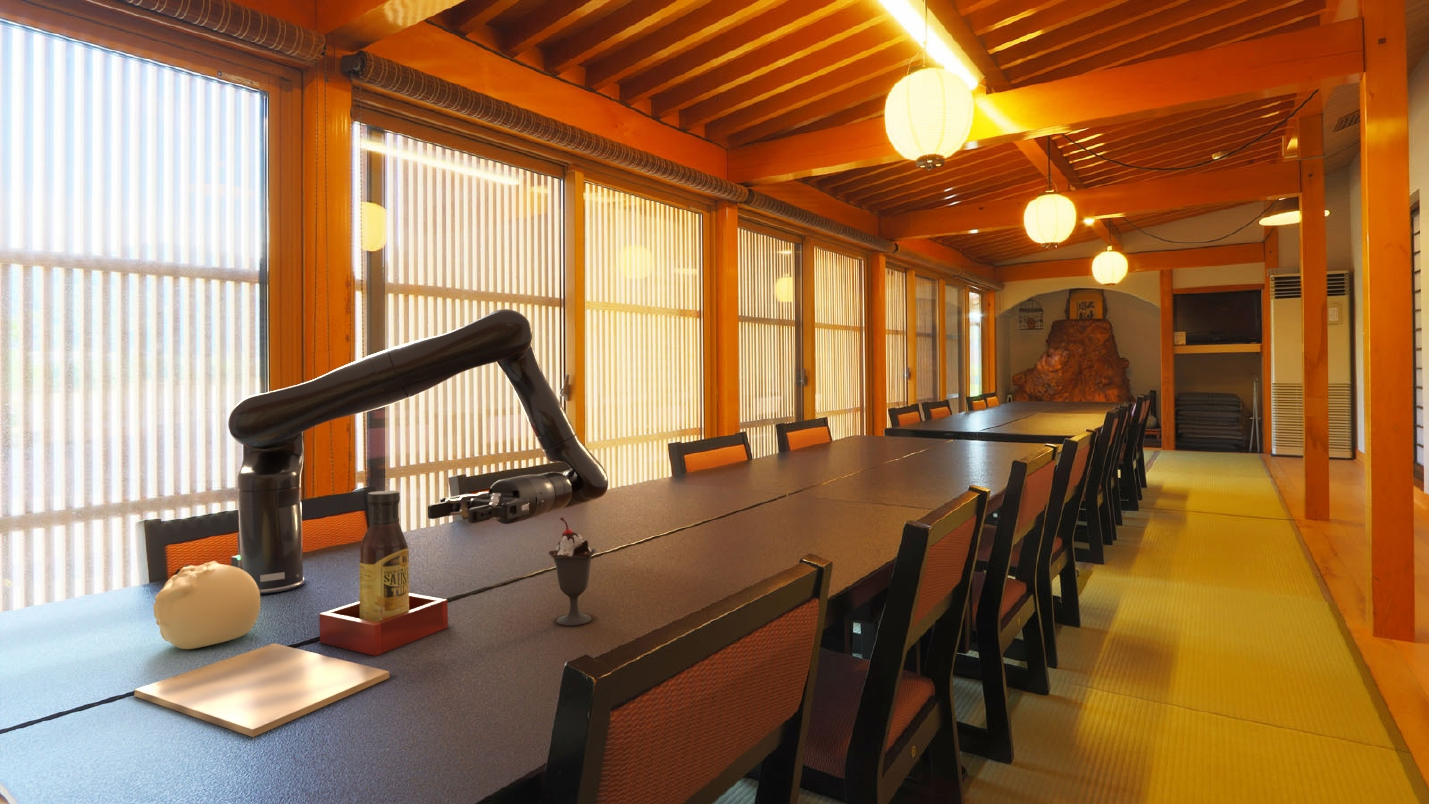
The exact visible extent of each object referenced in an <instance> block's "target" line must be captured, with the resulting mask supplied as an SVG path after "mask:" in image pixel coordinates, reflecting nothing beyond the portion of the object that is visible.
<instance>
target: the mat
mask: <svg viewBox="0 0 1429 804" xmlns="http://www.w3.org/2000/svg"><path fill="white" fill-rule="evenodd" d="M388 679H390V671H388V670H385V669H381V668H378V667H377V668H376V667H373V666H370V665H365V664H360V663H356V662H352V661H348V660H344V659H341V658H335V657H331V656H328V655H324V654H319V653H316V652H311V651H309V650H307V651H306V650H303V649H301V648H300V649H299V648H295V647H291V646H287V645H283V644H278V643H275V642H273V643H271V644H268V645H264V646H261V647H258V648H256V649H253V650H249V651H247V652H243V653H240V654H237V655H234V656H232V657H227V658H225V659H222V660H219V661H216V662H213V663H210V664H207V665H204V666H201V667H197V668H195V669H192V670H189V671H185V672H183V673H180V674H177V675H173V676H171V677H168V678H165V679H162V680H159V681H155V682H152V683H150V684H146V685H144V686H141V687H138V688H135V689H134V693H133V694H134V697H136V698H137V699H141V700H144V701H148V702H150V703H153V704H155V705H159V706H161V707H165V708H167V709H170V710H173V711H176V712H179V713H182V714H185V715H187V716H190V717H193V718H196V719H199V720H202V721H205V722H207V723H211V724H214V725H216V726H219V727H222V728H226V729H229V730H231V731H234V732H237V733H239V734H242V735H244V736H248V737H251V738H255V737H257V736H259V735H262V734H264V733H267V732H268V731H271V730H273V729H275V728H278V727H280V726H282V725H284V724H287V723H289V722H291V721H294V720H296V719H298V718H300V717H303V716H305V715H308V714H310V713H312V712H315V711H317V710H319V709H321V708H323V707H326V706H328V705H331V704H332V703H335V702H338V701H339V700H342V699H345V698H347V697H349V696H351V695H353V694H356V693H359V692H361V691H363V690H365V689H367V688H370V687H372V686H374V685H376V684H379V683H380V682H383V681H386V680H388Z"/></svg>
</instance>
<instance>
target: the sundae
mask: <svg viewBox="0 0 1429 804" xmlns="http://www.w3.org/2000/svg"><path fill="white" fill-rule="evenodd" d="M560 520H561V521H562V522H563V523H564V525H565V530H564V531H563V532H562V533H561V539H560V540H559V541H558V543H557V545H556V549H553V550H550V551H549V552H548V555H549V556H550V557H551V558H552V559H553V560H554V563H555V568H556V575H557V576H556V577H557V583H558V586H559V589H560V591H561V592H562V593H563V594H564V595H565V596H567V597H568V598H569V610H568V613H567V614H565V615H562V616H560V617H558V618H557V620H556V622H557V624H559V625H560V626H566V627H576V626H582V625H585V624H588V623H590V622H591V621H592V617H591V615H589V614H586V613H582V612H581V611H580V608H579V597H580V596H581V595H582V594H583V593H585V591H586V589H587V588H588V585H589V579H590V572H591V562H592V556H593V555H594V554H596V552H597V549H596V548H590V546H589V540H587V539H585V538H583V536H582V535H581V534H579V533H578V532H574V531H573V529H571V528H569V525H568V523H567V521H566V520H565V518H564V517H563V516H560V517H559V521H560Z"/></svg>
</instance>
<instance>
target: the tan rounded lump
mask: <svg viewBox="0 0 1429 804" xmlns="http://www.w3.org/2000/svg"><path fill="white" fill-rule="evenodd" d="M189 565H190V566H188V567H183V568H182V569H180V571H179V572H178V574H177V575H175V574H174V575H172V576H171V577H170V578H169V579H167V580H166V582H165V584H164V586H163V588H162V589H160V591H159V592H158V593H157V594H156V595H155V596H154V600H155V601H154V603H153V605H152V606H153V607H152V609H153V616H154V618H155V620H156V621H155V623H156V625H157V626H158V627H159V633H160V636H161V638H162V639H163V640H164V641H166V642H169V643H170V644H171V645H173V646H174V647H176V648H178V649H181V650H195V649H199V648H203V647H207V646H212V645H213V646H214V645H218V644H221V643H224V642H229V641H232V640H235V639H238V638H241V637H243V636H245V635H247V634H248V633H249V632H250V631H251V630H252V629H253V627H254V626H255V624H256V622H257V620H258V617H259V615H260V610H261V602H262V601H261V594H260V592H259V589H258V586H257V584H256V582H255V581H254V579H253V578H252V577H251V576H250V575H249V574H248V573H247V572H245V571H244V570H242V569H240V568H237V567H234V566H230V565H231V564H230V565H229V564H221V563H219V562H218V561H216V560H212V561H209V562H204V563H202V564H200V565H191V564H189Z"/></svg>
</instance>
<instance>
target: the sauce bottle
mask: <svg viewBox="0 0 1429 804" xmlns="http://www.w3.org/2000/svg"><path fill="white" fill-rule="evenodd" d="M400 493H401V492H400V491H399V490H378V491H377V490H376V491H371V492H368V493H367V504H368V506H369V512H368V513H369V519H368V525H369V526H368V528H367V530H366V532H365V533H364V535H363V537H362V539H361V541H360V546H359V549H360V550H359V551H360V552H359V555H360V557H359V559H360V560H359V601H360V619H363V620H368V621H373V622H378V621H380V620H383V619H386V618H389V617H392V616H395V615H398V614H401V613H403V612H406V611H409V593H410V568H409V567H410V562H409V561H410V559H409V558H410V552H409V551H410V550H409V545H408V543H407V540H406V538H405V536H404V535H405V534H404V532H403V530H402V526H401V524H400V517H399V514H400V513H399V512H400V511H399V510H400V509H399V505H400V500H401V496H400V495H401V494H400Z"/></svg>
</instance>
